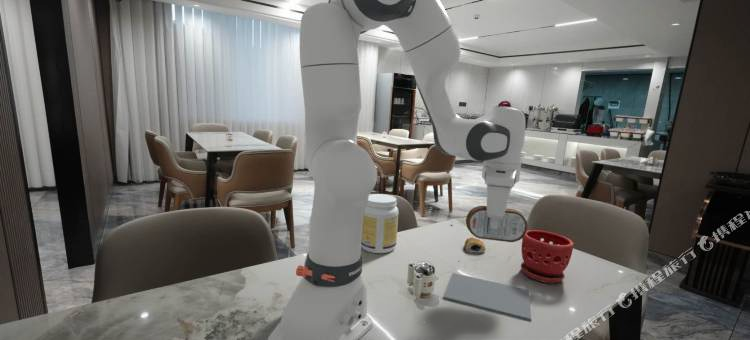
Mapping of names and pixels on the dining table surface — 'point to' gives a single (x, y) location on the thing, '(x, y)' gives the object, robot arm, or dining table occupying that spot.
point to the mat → (489, 296)
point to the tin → (508, 227)
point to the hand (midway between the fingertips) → (494, 225)
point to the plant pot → (545, 255)
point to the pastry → (474, 245)
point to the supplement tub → (380, 224)
